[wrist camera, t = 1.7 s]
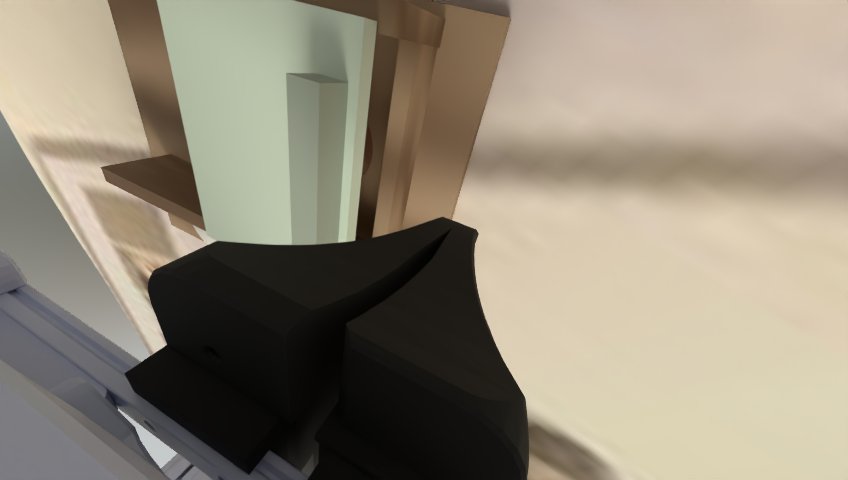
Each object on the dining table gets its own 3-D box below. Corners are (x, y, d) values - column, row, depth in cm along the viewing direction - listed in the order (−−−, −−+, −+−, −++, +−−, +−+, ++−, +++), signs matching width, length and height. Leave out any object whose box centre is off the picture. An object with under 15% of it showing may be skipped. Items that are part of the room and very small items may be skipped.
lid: (349, 295, 15) (322, 321, 14) (218, 230, 18) (180, 246, 16) (377, 21, 9) (334, 8, 8) (170, -29, 11) (100, -48, 10)
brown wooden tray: (415, 343, 23) (382, 398, 19) (177, 222, 28) (114, 245, 25) (510, 19, 12) (482, -9, 8) (98, -69, 18) (-35, -111, 14)
